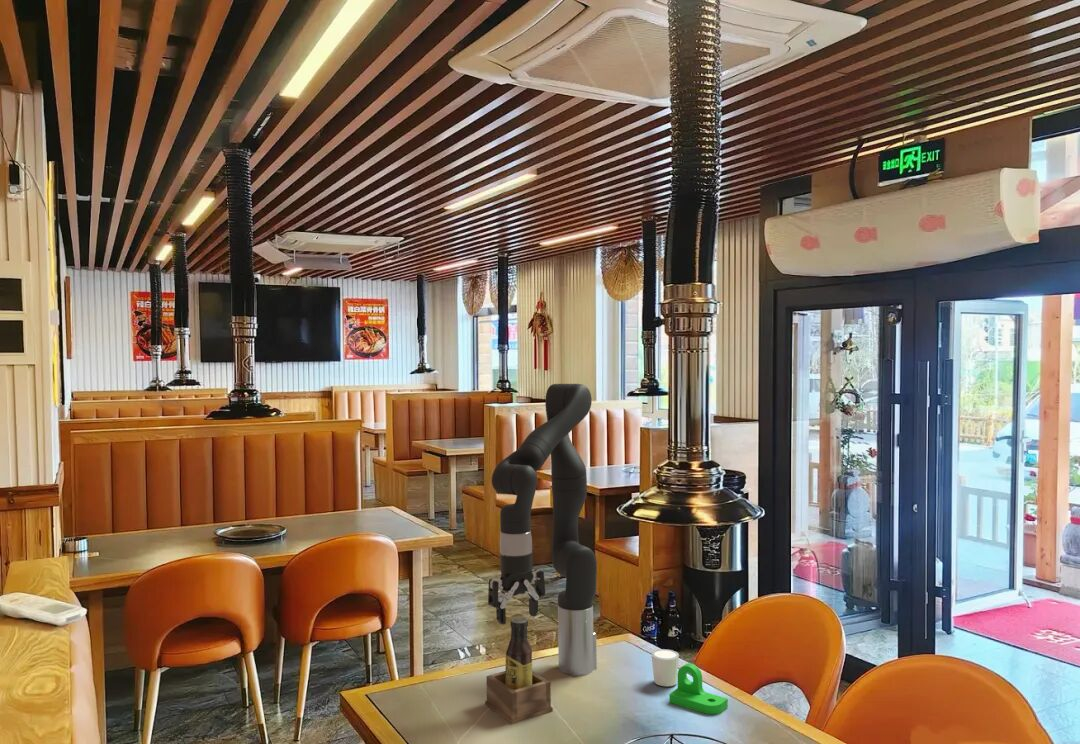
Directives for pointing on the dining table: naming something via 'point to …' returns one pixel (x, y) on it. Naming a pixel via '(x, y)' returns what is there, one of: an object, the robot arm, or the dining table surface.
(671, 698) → the mechanical part
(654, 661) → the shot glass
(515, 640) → the sauce bottle
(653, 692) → the dining table surface
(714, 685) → the dining table surface
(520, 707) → the bottle caddy
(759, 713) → the dining table surface
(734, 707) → the dining table surface
